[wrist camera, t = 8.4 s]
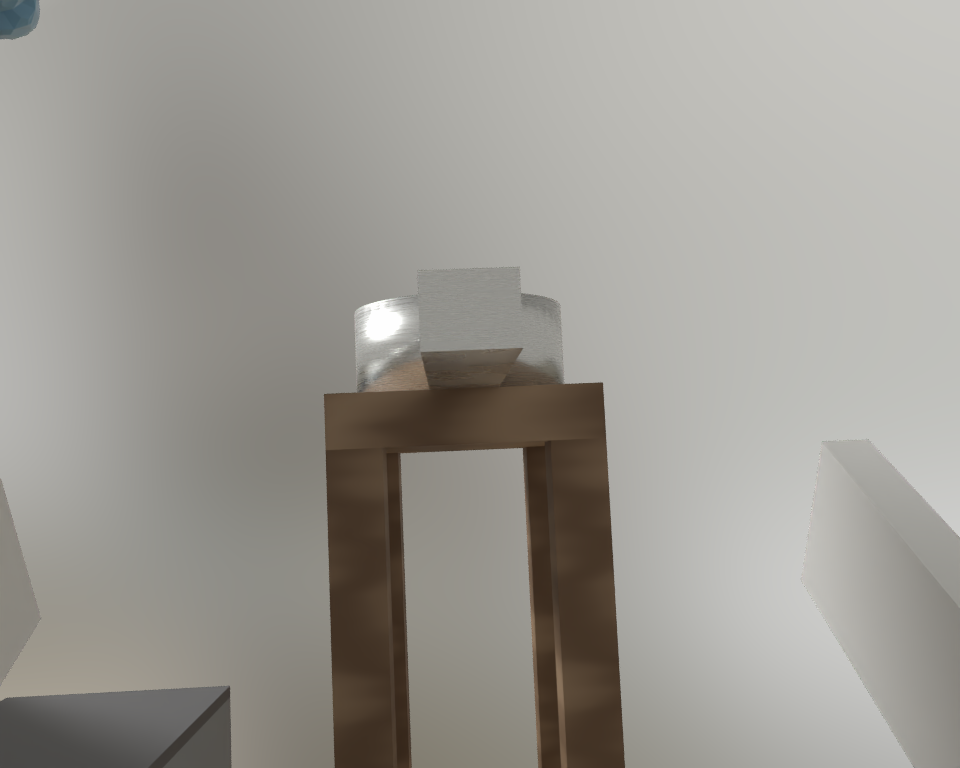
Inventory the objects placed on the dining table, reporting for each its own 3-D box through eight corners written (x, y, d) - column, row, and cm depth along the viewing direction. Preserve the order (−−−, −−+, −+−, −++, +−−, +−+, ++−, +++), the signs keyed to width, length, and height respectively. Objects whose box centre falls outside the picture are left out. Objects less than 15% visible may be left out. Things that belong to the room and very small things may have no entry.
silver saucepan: (285, 357, 22) (280, 188, 22) (367, 413, 43) (364, 328, 44) (656, 342, 22) (645, 176, 22) (552, 405, 44) (547, 321, 44)
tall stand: (350, 1311, 29) (324, 393, 32) (378, 1066, 41) (357, 414, 44) (654, 1286, 30) (602, 382, 32) (595, 1051, 42) (561, 405, 44)
